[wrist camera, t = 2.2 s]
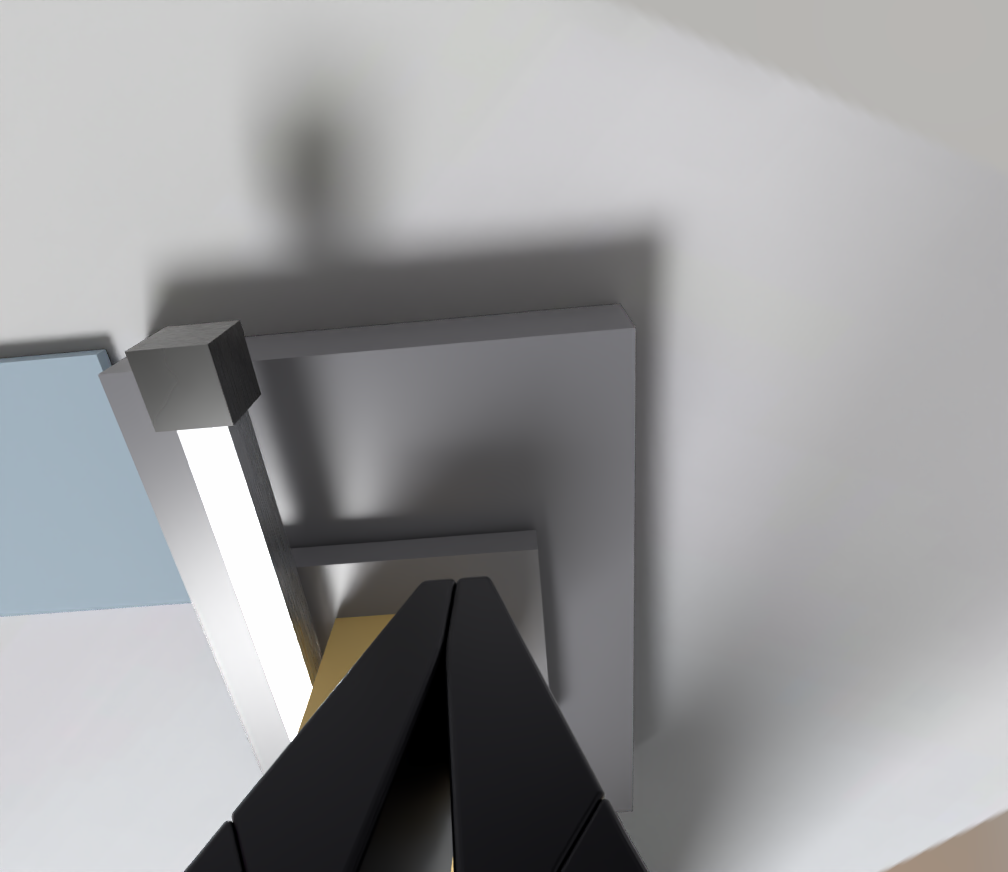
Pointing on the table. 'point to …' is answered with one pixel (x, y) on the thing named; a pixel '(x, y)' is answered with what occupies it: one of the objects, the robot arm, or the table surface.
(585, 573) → the socket plate
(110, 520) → the mat
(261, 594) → the metal lever bar
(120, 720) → the table surface
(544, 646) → the plug
